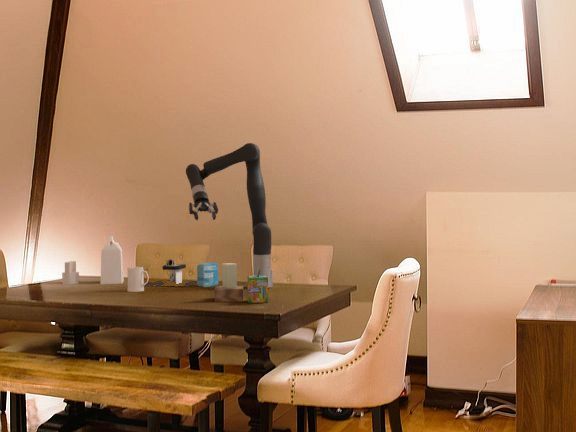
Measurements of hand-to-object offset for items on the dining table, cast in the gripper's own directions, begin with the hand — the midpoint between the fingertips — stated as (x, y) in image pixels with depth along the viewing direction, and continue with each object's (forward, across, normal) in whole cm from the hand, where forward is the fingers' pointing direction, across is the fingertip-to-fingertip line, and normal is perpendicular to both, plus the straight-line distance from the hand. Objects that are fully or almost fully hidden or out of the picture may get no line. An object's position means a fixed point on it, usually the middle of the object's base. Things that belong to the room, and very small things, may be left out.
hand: (205, 219), depth 397 cm
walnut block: (+47, +3, +6) cm, 47 cm away
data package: (+5, +8, +47) cm, 48 cm away
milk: (-23, -37, +75) cm, 87 cm away
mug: (+10, -30, +43) cm, 53 cm away
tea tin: (+42, +4, +2) cm, 43 cm away
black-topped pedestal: (-8, -7, +60) cm, 61 cm away
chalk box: (+56, +13, -3) cm, 57 cm away
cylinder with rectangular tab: (-28, -59, +80) cm, 103 cm away
